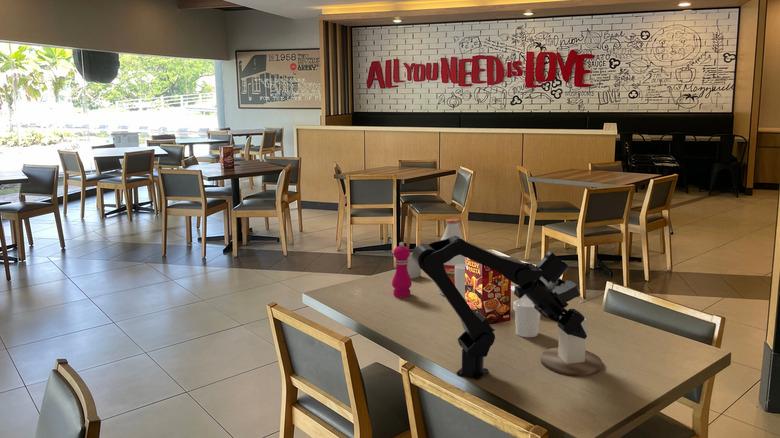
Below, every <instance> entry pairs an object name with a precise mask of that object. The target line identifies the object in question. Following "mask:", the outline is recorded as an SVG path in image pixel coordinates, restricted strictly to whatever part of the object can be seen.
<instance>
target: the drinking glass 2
mask: <svg viewBox="0 0 780 438" xmlns="http://www.w3.org/2000/svg"><path fill="white" fill-rule="evenodd" d="M465 264H466V263H465ZM465 264H457V265H455V287H456V288H457V289H458V291H459V292H460V294H461V295H462V297H463V298H465Z"/></svg>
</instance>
